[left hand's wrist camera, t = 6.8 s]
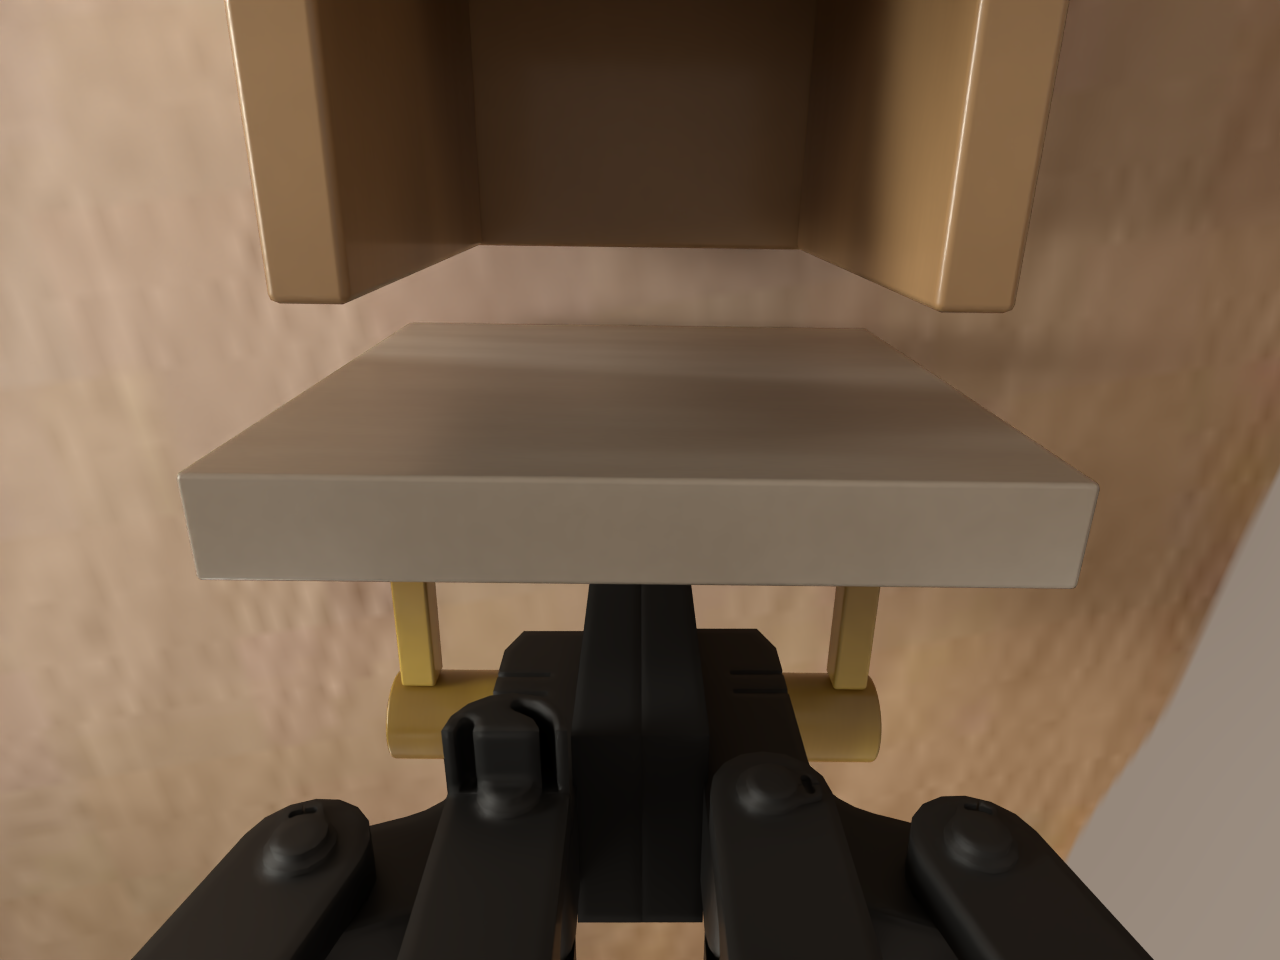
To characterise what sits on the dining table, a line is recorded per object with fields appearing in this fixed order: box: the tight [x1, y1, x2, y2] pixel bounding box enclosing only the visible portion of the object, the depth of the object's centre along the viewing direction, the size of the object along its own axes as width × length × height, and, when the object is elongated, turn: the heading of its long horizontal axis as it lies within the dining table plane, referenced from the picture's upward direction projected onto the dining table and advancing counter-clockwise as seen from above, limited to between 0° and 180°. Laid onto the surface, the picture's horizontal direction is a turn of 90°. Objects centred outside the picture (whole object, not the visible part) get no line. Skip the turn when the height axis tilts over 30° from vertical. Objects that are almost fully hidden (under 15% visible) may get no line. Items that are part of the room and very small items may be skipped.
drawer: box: [177, 0, 1100, 762], centre depth 11 cm, size 22×9×9 cm, turn 179°
